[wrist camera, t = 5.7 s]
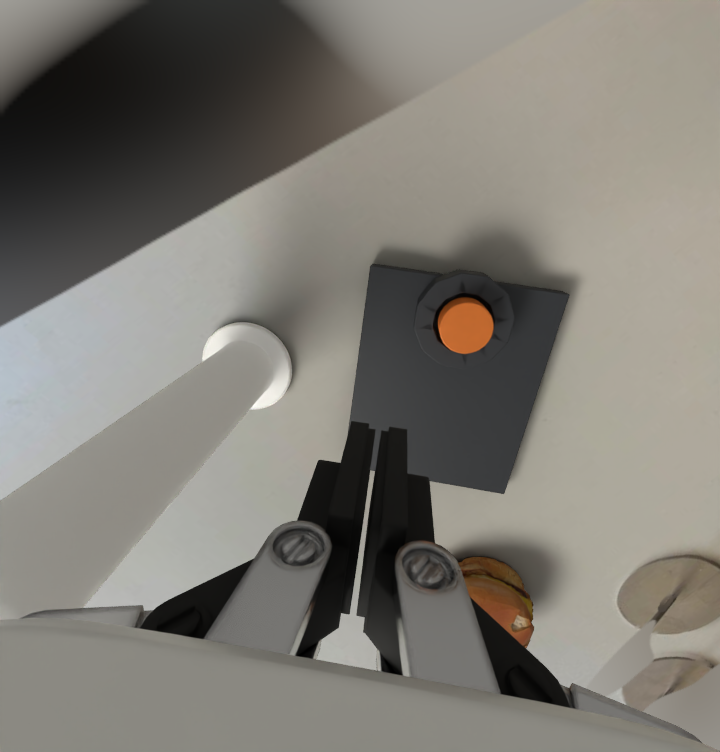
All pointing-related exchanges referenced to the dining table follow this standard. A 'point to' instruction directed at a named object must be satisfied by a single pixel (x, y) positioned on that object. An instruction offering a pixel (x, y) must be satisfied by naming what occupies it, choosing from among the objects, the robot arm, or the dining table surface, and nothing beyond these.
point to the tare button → (465, 325)
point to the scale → (452, 372)
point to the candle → (130, 474)
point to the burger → (500, 595)
